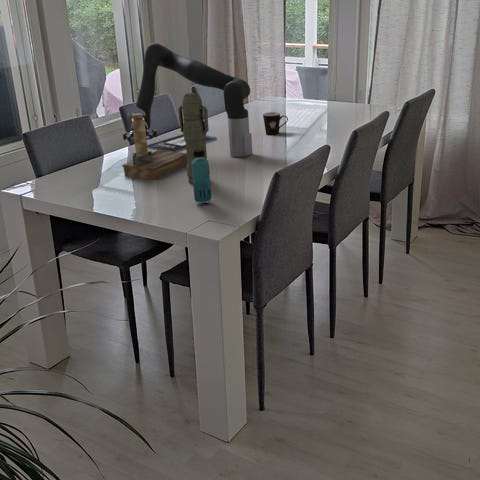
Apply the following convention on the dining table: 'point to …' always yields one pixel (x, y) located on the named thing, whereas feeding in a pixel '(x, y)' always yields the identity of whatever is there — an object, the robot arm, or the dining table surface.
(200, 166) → the beverage bottle
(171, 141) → the sketchbook
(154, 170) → the board with square socket
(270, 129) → the coffee mug
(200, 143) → the thermos
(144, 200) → the dining table surface
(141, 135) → the wooden square peg
